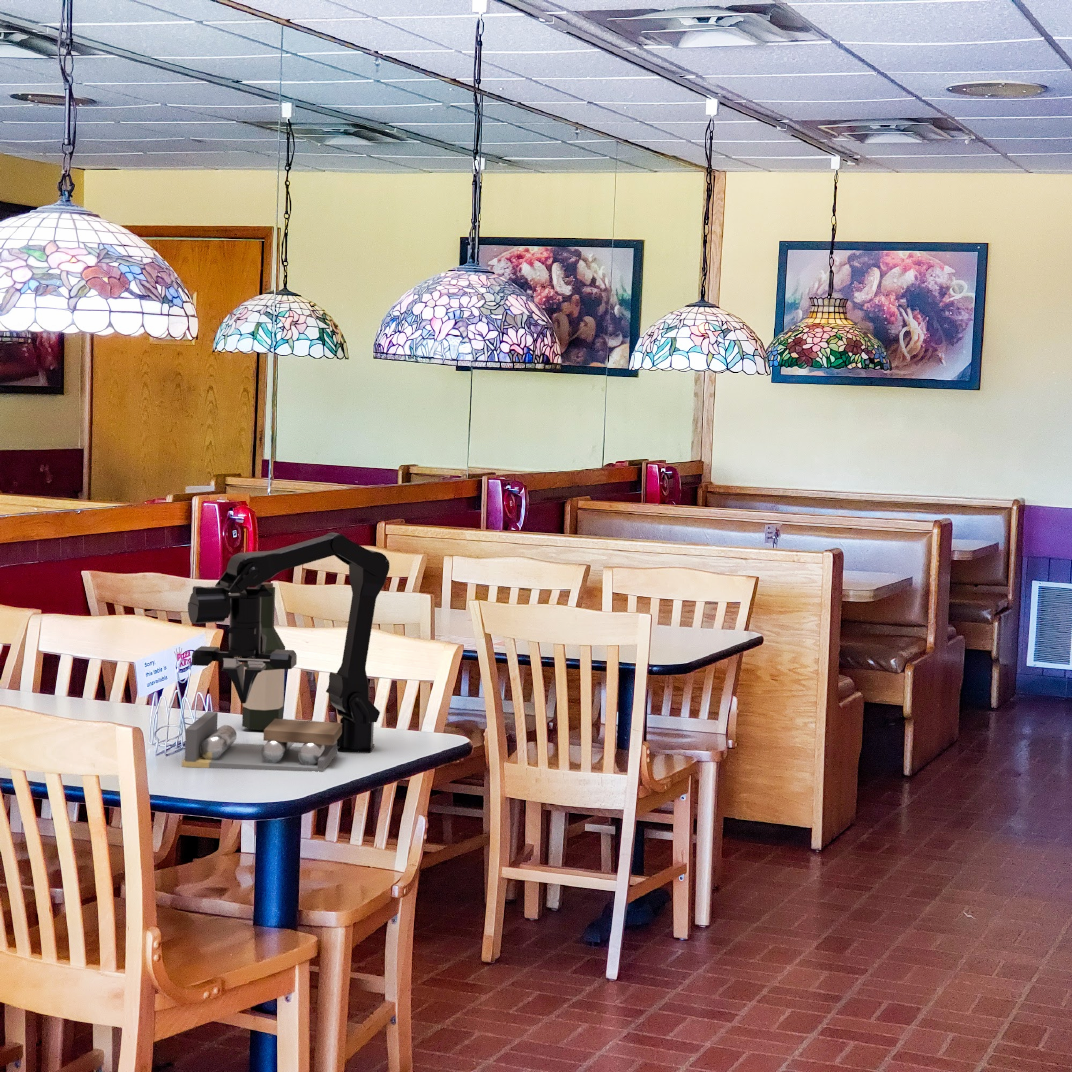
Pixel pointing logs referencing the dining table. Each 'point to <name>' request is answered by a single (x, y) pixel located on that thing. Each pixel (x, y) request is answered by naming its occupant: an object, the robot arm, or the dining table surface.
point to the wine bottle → (266, 675)
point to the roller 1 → (218, 742)
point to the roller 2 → (274, 751)
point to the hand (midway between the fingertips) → (243, 702)
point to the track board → (243, 752)
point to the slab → (303, 731)
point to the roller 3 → (311, 753)
